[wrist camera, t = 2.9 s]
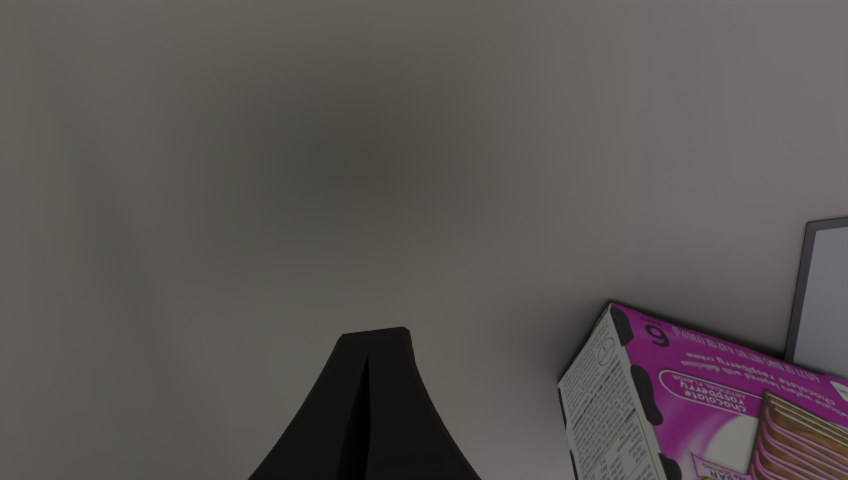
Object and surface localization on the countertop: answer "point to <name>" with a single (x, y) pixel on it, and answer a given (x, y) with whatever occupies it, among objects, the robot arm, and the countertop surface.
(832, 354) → the mat
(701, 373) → the candy bar box
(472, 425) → the countertop surface
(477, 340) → the countertop surface
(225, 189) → the countertop surface
